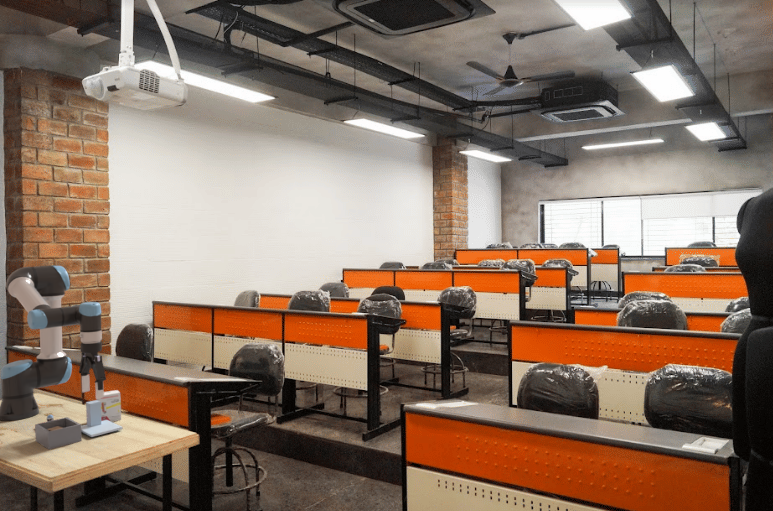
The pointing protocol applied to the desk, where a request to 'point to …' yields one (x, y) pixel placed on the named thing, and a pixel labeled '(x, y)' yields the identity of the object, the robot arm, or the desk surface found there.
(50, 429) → the walnut part
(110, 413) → the ink box
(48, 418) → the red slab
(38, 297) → the robot arm
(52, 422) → the tub
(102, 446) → the desk surface
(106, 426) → the lid
